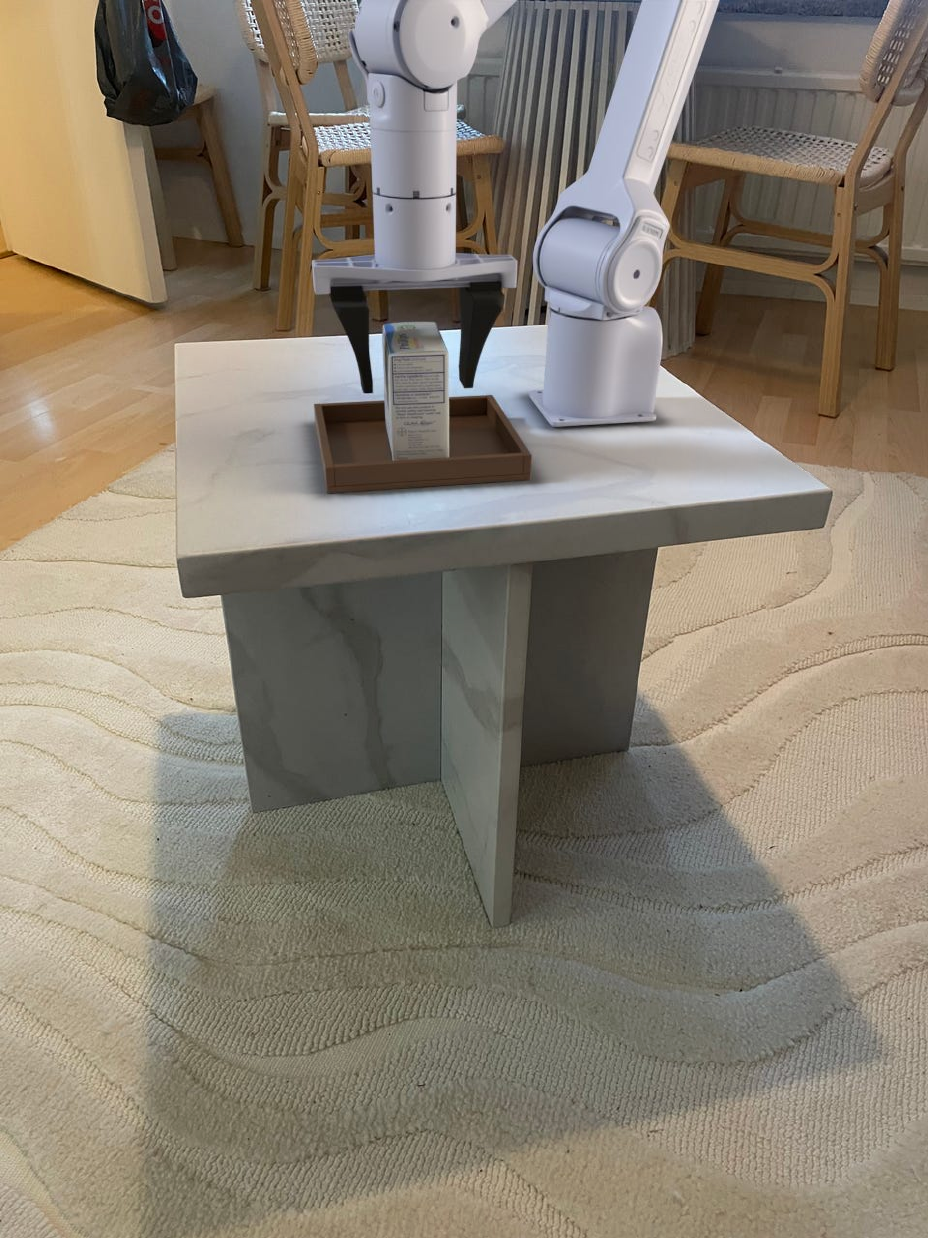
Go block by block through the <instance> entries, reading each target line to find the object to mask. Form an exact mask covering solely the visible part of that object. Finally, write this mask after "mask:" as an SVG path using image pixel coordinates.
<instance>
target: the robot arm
mask: <svg viewBox="0 0 928 1238" xmlns="http://www.w3.org/2000/svg"><path fill="white" fill-rule="evenodd" d="M517 1H518V0H361V1H360V3H359V5H358V8H359V10H358V13H356V14H355V20H354V28H352V30H349V31H348V32H347V38H348V45H349V49H350V52H351V56H352V58H353V60H354V63H355V65H356V66H357V67H358V69H359V71H360V72H361V74H362V76H363V77H364V80H365V83H366V84H365V85H366V96H367V100H366V101H367V104H369V132H370V157H371V159H370V160H371V162H370V163H371V187H372V188H371V189H372V191H371V192H372V213H373V214H372V215H373V238H374V239H373V241H374V254H368V255H366V254H365V255H358V256H357V255H356V256H350V257H340V258H329V259H312V260H311V270H312V284H313V285H312V286H313V292H314V294H315V295H318V296H319V295H329V298H330V302H331V305H332V308H333V310H334V312H335V314H336V317H337V318H338V320H339V322H340V324H341V326H342V328H343V330H344V332H345V334H346V336H347V338H348V339H347V340H348V341H349V343H350V345H351V349H352V351H353V354H354V357H355V360H356V364H357V369H358V373H359V381H360V387H361V391H362V393H363V394H364V395H365V394H366V395H367V394H368V395H369V394H374V379H373V371H372V364H371V353H370V308H369V305H368V304H367V302H368V301H367V295H366V293H365V291H391V290H392V291H395V290H424V289H425V290H426V289H427V290H428V289H450V288H451V289H452V288H453V289H455V288H457V289H458V296H459V316H460V319H459V321H460V344H459V357H458V379H459V382H460V384H461V386H462V387H463V389H473V388H474V383H475V378H476V373H477V369H478V367H479V362H480V359H481V356H482V352H483V350H484V347H485V345H486V342H487V339H488V337H489V336H490V333H491V331H492V329H493V327H494V325H495V323H496V321H497V319H498V318H499V316H500V314H501V313H502V312H503V308H504V305H505V299H506V296H505V294H504V293H503V291H502V289H516V288H517V282H518V281H517V279H518V260H517V259H516V257H514V256H513V255H511V254H481V253H461V252H457V251H456V250H457V248H456V245H457V151H458V150H457V142H458V141H457V139H458V137H457V136H458V134H457V132H458V130H457V129H458V128H457V127H458V81H459V80H461V79H463V78H467V76H468V75H469V73H470V72H471V70H472V67H473V65H474V63H475V61H476V57H477V53H478V48H479V43H480V39H481V37H482V36H483V35H484V34H485V33H486V32H487V31H488V30H489V29H490V28H491V27H492V26H493V25H494V24H495V23H496V22H497V21H498V20H499V19H500V18H501V17H502V16H503V15H504V14H505V13H506V12H507V11H508V10H509V9H510V8H511V7H512V6H513V5H514V4H515V3H516V2H517ZM719 3H720V0H641V2H640V5H639V8H638V12H637V15H636V19H635V21H634V25H633V28H632V31H631V34H630V38H629V39H628V40H629V41H628V44H627V47H626V50H625V53H624V56H623V59H622V62H621V66H620V69H619V71H618V74H617V78H616V82H615V84H614V88H613V91H612V94H611V97H610V101H609V104H608V107H607V110H606V113H605V116H604V118H603V122H602V126H601V128H600V132H599V135H598V138H597V141H596V145H595V148H594V151H593V154H592V157H591V159H590V163H589V165H588V166H589V167H588V170H587V171H586V172H585V173H584V175H582V176H581V177H580V178H578V179H577V180H576V181H575V182H573V183H571V184H570V185H569V186H568V187H566V188H565V189H564V190H563V191H562V192H561V193H560V194H559V196H558V199H557V202H556V205H555V208H554V210H553V212H552V215H550V218H549V220H548V221H546V223H545V224H544V226H543V227H542V229H541V230H540V231H539V234H538V236H537V237H536V241H535V244H534V248H533V252H532V267H533V273H534V274H535V278H536V280H537V282H538V283H539V284H540V285H541V286H542V287H543V288H544V301H545V302H546V303H548V316H547V317H548V318H547V319H548V320H547V330H546V331H547V333H546V348H545V360H544V375H543V376H544V377H543V389H542V390H541V389H540V390H539V389H538V390H531V391H529V393H528V397H529V398H530V400H531V401H532V402H533V404H534V405H535V407H536V408H537V409H538V411H539V412H540V413H541V414H542V416H543V417H544V418H545V420H546V422H548V424H549V425H550V426H551V427H554V428H555V427H557V428H560V427H575V426H576V427H577V426H590V425H609V424H626V423H628V424H629V423H644V422H646V423H647V422H654V421H656V420H657V414H656V413H655V404H656V397H657V390H658V381H659V376H660V368H661V360H662V354H663V341H664V340H663V326H662V321H661V318H660V315H659V313H658V312H657V310H656V309H655V308H654V307H651V306H645V305H647V303H648V302H649V301H650V300H651V298H652V297H653V295H654V294H655V292H656V290H657V288H658V286H659V283H660V280H661V277H662V270H663V257H664V256H663V255H664V248H665V243H666V240H667V236H668V234H669V230H670V227H671V225H670V222H669V219H668V217H667V216H666V214H665V212H664V210H663V208H662V207H661V205H660V203H659V202H658V200H657V198H656V196H655V194H654V192H655V189H656V186H657V183H658V180H659V178H660V175H661V172H662V169H663V166H664V164H665V163H664V162H665V160H666V157H667V154H668V151H669V148H670V145H671V143H672V139H673V136H674V134H675V131H676V128H677V125H678V123H679V119H680V116H681V114H682V111H683V108H684V105H685V102H686V99H687V97H688V93H689V90H690V87H691V84H692V82H693V80H694V79H693V78H694V76H695V73H696V70H697V67H698V64H699V61H700V58H701V55H702V52H703V50H704V46H705V44H706V42H707V38H708V35H709V33H710V30H711V26H712V24H713V21H714V18H715V14H716V12H717V9H718V7H719ZM610 221H611V222H614V223H619V226H617V225H613V224H610V223H609V224H608V223H605V222H610Z"/></svg>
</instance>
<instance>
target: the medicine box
mask: <svg viewBox="0 0 928 1238" xmlns="http://www.w3.org/2000/svg"><path fill="white" fill-rule="evenodd" d="M381 332H382V333H381V341H382V344H381V345H382V367H383V397H384V399H383V400H384V403H385V422H386V429H387V433H388V438H389V443H390V448H391V452H392V459H393V461H398V460H414V459H430V458H446V457H449V397H450V357H449V356H450V355H449V351H448V348H447V346H446V343H445V341H444V339H443V336H442V334H441V331H440V329H439V326H438V325H437V323H436V322H435V321H402V322H401V321H400V322H392V323H386V324H385V323H383V325H382V330H381Z"/></svg>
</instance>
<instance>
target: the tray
mask: <svg viewBox="0 0 928 1238" xmlns="http://www.w3.org/2000/svg"><path fill="white" fill-rule="evenodd" d="M313 409H314V423H315V431H316V437H317V444H318V449H319V452H320V453H319V454H320V460H321V466H322V471H323V477H324V482H325V483H324V484H325V490H326V493H327V494H336V493H337V494H338V493H339V494H340V493H351V492H352V493H353V492H354V493H355V492H367V491H369V492H370V491H380V490H381V491H382V490H396V489H412V488H427V487H439V486H440V487H441V486H455V485H456V486H458V485H470V484H472V485H473V484H486V483H487V484H488V483H500V482H501V483H502V482H517V481H529V480H531V473H532V457H533V455H532V454H531V452H530V450H529V449H528V447H527V446H526V443H524V441H523V440H522V438H521V436H520V435H519V433H518V432H517V431H516V429H515V427H514V425H513V424H512V423H511V421H510V420H509V419H508V417H507V415H506V414H505V412H504V411H503V409H502V407H501V406H500V404H499V403H498V402H497V400H496V398H495V397H494V395H493V394H483V395H482V394H481V395H467V396H466V395H465V396H449V457H446V458H430V459H414V460H398V461H393V459H392V452H391V448H390V443H389V438H388V433H387V429H386V422H385V403H384V399H383V400H382V399H381V400H366V401H365V400H364V401H363V400H362V401H345V402H325V403H314V404H313Z"/></svg>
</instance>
